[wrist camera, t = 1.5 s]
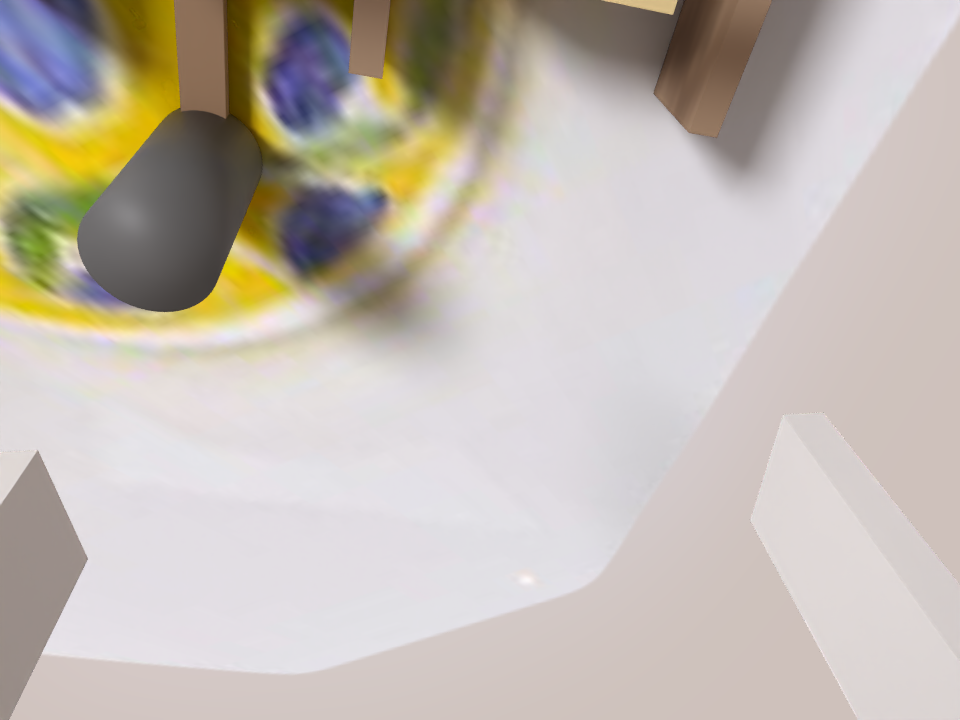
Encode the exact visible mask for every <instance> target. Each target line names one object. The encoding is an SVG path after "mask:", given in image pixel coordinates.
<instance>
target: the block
mask: <svg viewBox="0 0 960 720" xmlns="http://www.w3.org/2000/svg"><path fill="white" fill-rule="evenodd" d="M603 1H607V2H612V3H617V4H622V5H627V6H632V7H637V8H642V9H647V10H651V11H656V12H661V13H666V14H671V15H673V13H674V10H675V7H676V4H677V1H678V0H603Z"/></svg>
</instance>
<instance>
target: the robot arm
mask: <svg viewBox="0 0 960 720" xmlns="http://www.w3.org/2000/svg"><path fill="white" fill-rule="evenodd" d="M750 521H751V523H752V525H753V527H754V529H755V531H756V532H757V534H758V536H759V538H760V540H761V541H762V543H763V545H764V547H765V549H766V551H767V553H768V555H769V556H770V558H771V560H772V562H773V564H774V566H775V568H776V569H777V571H778V573H779V575H780V577H781V579H782V580H783V582H784V584H785V586H786V588H787V590H788V591H789V593H790V595H791V597H792V599H793V600H794V603H795V604H796V606H797V608H798V610H799V612H800V614H801V616H802V618H803V619H804V621H805V623H806V625H807V626H808V629H809V630H810V632H811V634H812V636H813V638H814V639H815V641H816V643H817V645H818V647H819V649H820V651H821V653H822V655H823V656H824V658H825V660H826V662H827V664H828V666H829V667H830V669H831V671H832V673H833V675H834V677H835V679H836V680H837V682H838V684H839V686H840V688H841V690H842V691H843V693H844V695H845V697H846V699H847V701H848V703H849V705H850V706H851V708H852V710H853V712H854V714H855V716H856V717H857V719H858V720H960V584H959V582H958V581H957V580H956V579H955V577H954V576H953V575H952V574H951V572H950V571H949V570H948V569H947V567H946V566H945V565H944V564H943V562H942V561H941V560H940V559H939V557H938V556H937V555H936V554H935V552H934V551H933V550H932V549H931V548H930V546H929V545H928V544H927V542H926V541H925V540H924V538H923V537H922V536H921V535H920V534H919V532H918V531H917V530H916V528H915V527H914V526H913V525H912V523H911V522H910V521H909V520H908V518H907V517H906V516H905V515H904V513H903V512H902V511H901V510H900V508H899V507H898V506H897V505H896V503H895V502H894V501H893V499H892V498H891V497H890V496H889V495H888V493H887V492H886V491H885V489H884V488H883V487H882V486H881V484H880V483H879V482H878V481H877V480H876V478H875V477H874V476H873V474H872V473H871V472H870V471H869V469H868V468H867V467H866V466H865V464H864V463H863V462H862V461H861V459H860V458H859V457H858V455H857V454H856V453H855V452H854V450H853V449H852V448H851V447H850V445H849V444H848V443H847V442H846V440H845V439H844V438H843V437H842V435H841V434H840V433H839V432H838V430H837V429H836V428H835V427H834V426H833V424H832V423H831V422H830V420H829V419H828V418H827V417H826V415H825V414H824V413H802V414H783V416H782V419H781V423H780V426H779V429H778V432H777V435H776V439H775V442H774V445H773V448H772V451H771V455H770V458H769V461H768V464H767V467H766V471H765V474H764V477H763V480H762V483H761V487H760V490H759V493H758V496H757V499H756V503H755V506H754V509H753V512H752V515H751V519H750ZM87 560H88V558H87V556H86V554H85V552H84V549H83V547H82V545H81V543H80V541H79V539H78V536H77V534H76V532H75V530H74V528H73V525H72V523H71V521H70V519H69V517H68V515H67V512H66V510H65V508H64V506H63V504H62V502H61V499H60V497H59V495H58V493H57V491H56V488H55V486H54V484H53V482H52V480H51V478H50V475H49V473H48V471H47V469H46V467H45V465H44V462H43V460H42V458H41V456H40V454H39V451H38V450H29V451H8V452H0V720H9V719H10V717H11V714H12V713H13V710H14V708H15V706H16V704H17V702H18V700H19V698H20V696H21V694H22V692H23V690H24V688H25V686H26V684H27V682H28V680H29V678H30V676H31V674H32V672H33V670H34V668H35V666H36V664H37V661H38V660H39V658H40V656H41V654H42V651H43V649H44V647H45V645H46V643H47V641H48V639H49V637H50V635H51V633H52V631H53V629H54V627H55V625H56V623H57V621H58V619H59V617H60V615H61V613H62V611H63V609H64V607H65V605H66V603H67V601H68V599H69V597H70V594H71V592H72V590H73V588H74V586H75V584H76V582H77V580H78V578H79V576H80V574H81V572H82V570H83V568H84V566H85V564H86V562H87Z"/></svg>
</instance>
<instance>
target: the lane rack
mask: <svg viewBox="0 0 960 720" xmlns="http://www.w3.org/2000/svg"><path fill="white" fill-rule="evenodd" d="M390 1H391V0H354V10H353V23H352V36H351V49H350V62H349V73H352V74H358V75H363V76H369V77H375V78H380V79H382V76H383V67H384V57H385V48H386V38H387V29H388V20H389V10H390ZM771 2H772V0H685V1H684V4H683V7H682V10H681V13H680V16H679V19H678V22H677V25H676V28H675V31H674V34H673V37H672V40H671V43H670V46H669V49H668V52H667V55H666V58H665V61H664V64H663V67H662V70H661V73H660V75H659V78H658V81H657V84H656V87H655V90H654V93H653V94H654V95H655V96H656V97H657V98H658V99H659V100H660V101H661V102H662V104H663V105H664V106H665V107H666V108H667V109H668V110H669V111H670V112H671V114H672V115H673V116H674V117H675V118H676V119H677V120H678V121H679V122H680V124H681V125H682V126H683V127H684V128H685V129H686V130H687V131H688V132H689V133H693V134H699V135H705V136H710V137H716V138H717V136H718V133H719V131H720V128H721V126H722V123H723V121H724V119H725V116H726V114H727V111H728V109H729V106H730V104H731V101H732V99H733V96H734V94H735V91H736V89H737V86H738V84H739V81H740V79H741V76H742V74H743V71H744V69H745V66H746V64H747V61H748V59H749V56H750V54H751V52H752V49H753V47H754V44H755V42H756V39H757V37H758V34H759V32H760V29H761V27H762V24H763V22H764V19H765V17H766V14H767V12H768V9H769V7H770V4H771Z"/></svg>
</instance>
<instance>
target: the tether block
mask: <svg viewBox="0 0 960 720" xmlns="http://www.w3.org/2000/svg"><path fill="white" fill-rule="evenodd" d="M174 7H175V23H176V39H177V55H178V71H179V87H180V103H181V108H179V109H177V110H175V111H173V112H172V113H170V114H169V115H168V116H167V117H166V118H164V120H163V121H162V122H161V123H160V124H159V126H158V127H157V128H156V129H155V130H154V132H153V133H152V134H151V135H150V136H149V138H148V139H147V140H146V141H145V143H144V144H143V145H142V146H141V147H140V149H139V150H138V151H137V152H136V153H135V155H134V156H133V157H132V158H131V160H130V161H129V162H128V163H127V164H126V166H125V167H124V168H123V169H122V170H121V172H120V173H119V174H118V175H117V176H116V178H115V179H114V180H113V181H112V183H111V184H110V185H109V186H108V187H107V189H106V190H105V191H104V192H103V193H102V195H101V196H100V197H99V198H98V200H97V201H96V202H95V203H94V204H93V206H92V207H91V208H90V209H89V210H88V212H87V213H86V214H85V216H84V217H83V219H82V221H81V223H80V226H79V230H78V237H77V242H78V250H79V254H80V257H81V259H82V262H83V264H84V266H85V267H86V269H87V271H88V272H89V274H90V275H91V276H92V278H93V279H94V280H95V281H96V282H97V283H98V284H99V285H100V286H101V287H102V288H103V289H104V290H106V291H107V292H108V293H110V294H111V295H112V296H114V297H116V298H117V299H119V300H121V301H123V302H125V303H127V304H129V305H132V306H135V307H137V308H141V309H145V310H150V311H157V312H173V311H179V310H184V309H187V308H190V307H192V306H195V305H196V304H198V303H200V302H201V301H203V300H204V299H205V298H206V297H207V296H208V295H209V294H210V293H211V292H212V290H213V289H214V287H215V285H216V283H217V281H218V278H219V276H220V273H221V271H222V269H223V266H224V264H225V261H226V259H227V257H228V254H229V252H230V250H231V247H232V245H233V242H234V240H235V238H236V235H237V233H238V230H239V228H240V226H241V223H242V221H243V218H244V216H245V214H246V211H247V209H248V206H249V204H250V202H251V199H252V197H253V194H254V192H255V190H256V187H257V185H258V182H259V180H260V177H261V173H262V156H261V151H260V148H259V146H258V143H257V141H256V139H255V138H254V136H253V135H252V133H251V132H250V131H249V129H248V128H247V127H246V126H245V125H244V124H243V123H242V122H241V121H239V120H238V119H237V118H236V117H234V116H233V115H231V114H229V78H228V31H227V0H174Z"/></svg>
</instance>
